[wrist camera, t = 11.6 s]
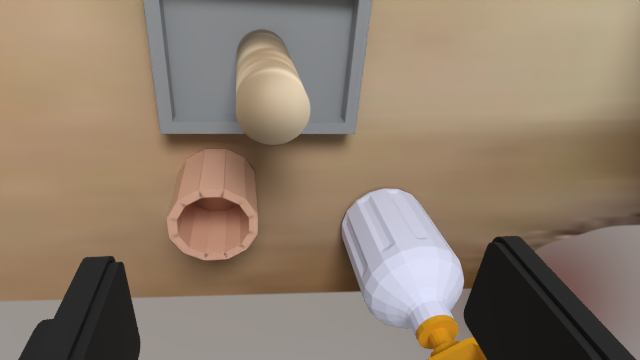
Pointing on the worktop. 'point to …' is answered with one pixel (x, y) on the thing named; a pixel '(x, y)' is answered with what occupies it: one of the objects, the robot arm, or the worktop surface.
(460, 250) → the worktop surface
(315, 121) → the tray
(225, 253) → the cup
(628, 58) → the worktop surface
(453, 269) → the soap bottle
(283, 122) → the dowel
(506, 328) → the robot arm
